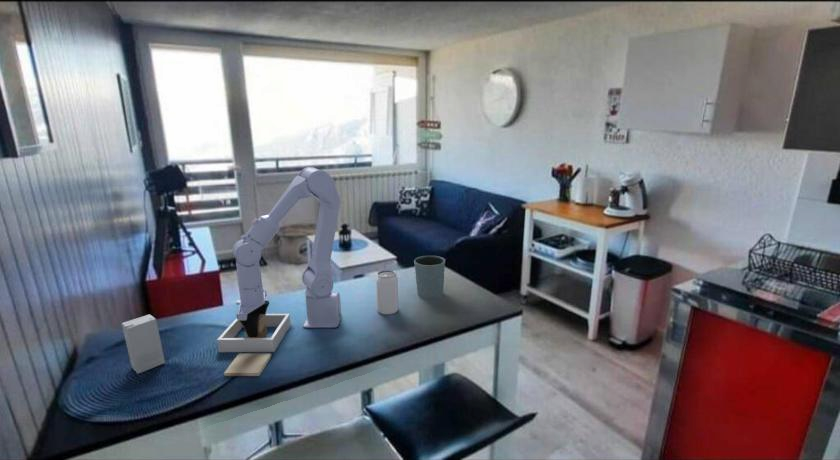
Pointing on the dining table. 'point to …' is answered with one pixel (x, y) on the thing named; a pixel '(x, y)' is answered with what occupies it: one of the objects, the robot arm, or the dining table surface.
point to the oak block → (260, 327)
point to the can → (387, 292)
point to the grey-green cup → (429, 276)
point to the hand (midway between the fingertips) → (256, 332)
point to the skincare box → (143, 343)
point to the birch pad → (247, 365)
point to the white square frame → (254, 344)
